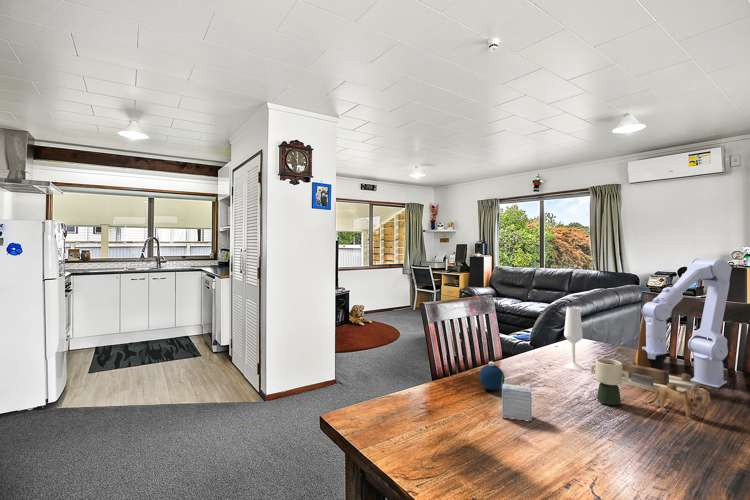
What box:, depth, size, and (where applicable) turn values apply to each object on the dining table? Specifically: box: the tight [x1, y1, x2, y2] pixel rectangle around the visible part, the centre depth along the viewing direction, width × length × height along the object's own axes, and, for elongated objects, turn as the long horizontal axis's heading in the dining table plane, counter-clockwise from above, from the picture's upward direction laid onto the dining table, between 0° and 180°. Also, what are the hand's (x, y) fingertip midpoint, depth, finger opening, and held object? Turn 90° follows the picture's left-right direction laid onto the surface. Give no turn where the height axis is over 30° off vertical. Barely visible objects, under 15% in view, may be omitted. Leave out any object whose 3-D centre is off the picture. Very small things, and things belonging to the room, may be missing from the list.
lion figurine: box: [648, 387, 711, 421], centre depth 109 cm, size 15×5×9 cm, turn 35°
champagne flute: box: [563, 306, 584, 371], centre depth 151 cm, size 7×7×24 cm
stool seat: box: [621, 360, 700, 393], centre depth 133 cm, size 18×22×4 cm
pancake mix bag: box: [634, 296, 657, 368], centre depth 152 cm, size 7×19×28 cm, turn 122°
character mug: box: [589, 358, 629, 406], centre depth 116 cm, size 11×7×13 cm, turn 35°
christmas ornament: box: [478, 359, 505, 391], centre depth 128 cm, size 8×8×10 cm
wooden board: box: [621, 362, 670, 385], centre depth 132 cm, size 14×3×4 cm, turn 45°
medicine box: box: [501, 383, 533, 422], centre depth 107 cm, size 8×4×9 cm, turn 71°
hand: (656, 375), depth 131 cm, fingers closed, pressing on wooden board
